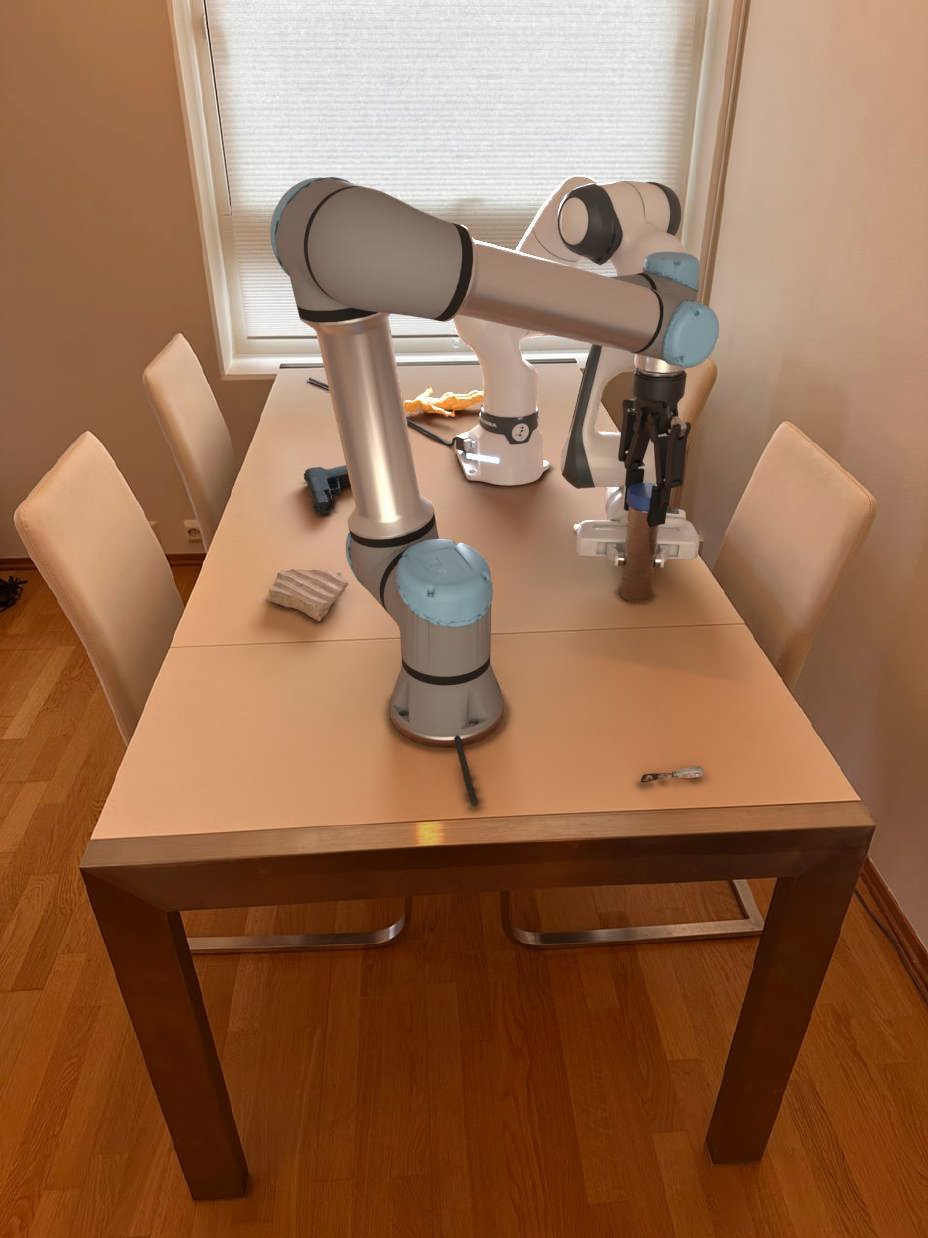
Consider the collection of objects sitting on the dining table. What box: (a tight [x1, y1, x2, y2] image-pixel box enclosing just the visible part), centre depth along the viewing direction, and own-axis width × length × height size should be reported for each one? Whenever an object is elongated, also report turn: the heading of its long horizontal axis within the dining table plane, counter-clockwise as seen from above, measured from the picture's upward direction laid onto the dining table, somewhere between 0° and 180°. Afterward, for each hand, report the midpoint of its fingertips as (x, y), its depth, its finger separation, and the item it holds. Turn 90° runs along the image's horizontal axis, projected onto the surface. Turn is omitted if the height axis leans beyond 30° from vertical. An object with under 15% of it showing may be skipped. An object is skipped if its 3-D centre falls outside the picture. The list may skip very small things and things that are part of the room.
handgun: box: [303, 464, 351, 515], centre depth 181 cm, size 3×18×12 cm
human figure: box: [403, 385, 483, 418], centre depth 225 cm, size 20×20×4 cm
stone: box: [267, 568, 349, 622], centre depth 146 cm, size 13×12×2 cm
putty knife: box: [640, 765, 705, 784], centre depth 109 cm, size 1×8×2 cm, turn 103°
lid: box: [627, 483, 656, 511], centre depth 138 cm, size 6×6×2 cm
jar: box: [619, 506, 659, 603], centre depth 143 cm, size 5×5×18 cm
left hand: (644, 516), depth 140 cm, fingers closed on lid, 6 cm apart
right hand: (639, 563), depth 143 cm, fingers closed on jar, 5 cm apart
